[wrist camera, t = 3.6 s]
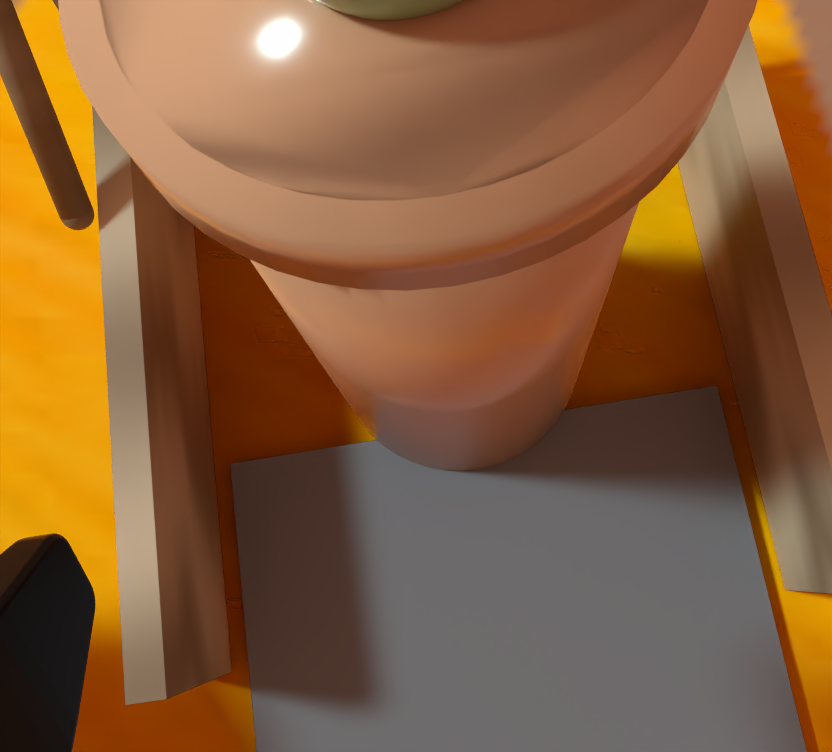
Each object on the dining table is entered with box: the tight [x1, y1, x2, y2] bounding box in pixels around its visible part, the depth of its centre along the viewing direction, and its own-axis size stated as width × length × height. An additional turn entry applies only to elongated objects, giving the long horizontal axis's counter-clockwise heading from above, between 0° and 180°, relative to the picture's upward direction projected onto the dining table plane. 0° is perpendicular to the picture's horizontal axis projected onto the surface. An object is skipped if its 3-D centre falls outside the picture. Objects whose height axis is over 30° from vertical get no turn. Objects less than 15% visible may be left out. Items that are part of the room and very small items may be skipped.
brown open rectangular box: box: [0, 0, 832, 705], centre depth 14 cm, size 17×15×13 cm
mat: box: [230, 385, 807, 752], centre depth 18 cm, size 12×12×1 cm
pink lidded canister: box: [58, 0, 757, 471], centre depth 13 cm, size 7×7×15 cm
